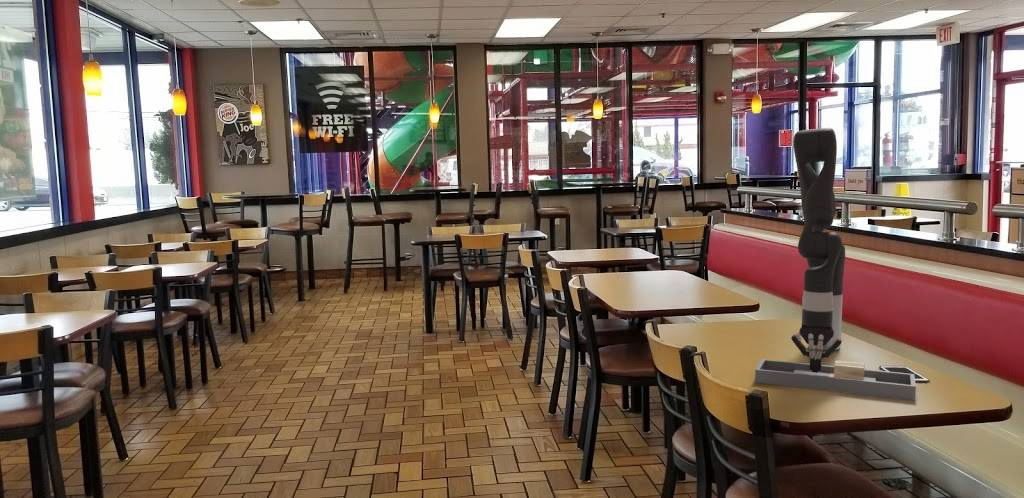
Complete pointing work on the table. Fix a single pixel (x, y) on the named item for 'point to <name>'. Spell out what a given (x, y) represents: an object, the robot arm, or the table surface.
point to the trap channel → (836, 379)
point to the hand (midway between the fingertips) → (815, 371)
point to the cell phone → (905, 369)
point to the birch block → (849, 370)
